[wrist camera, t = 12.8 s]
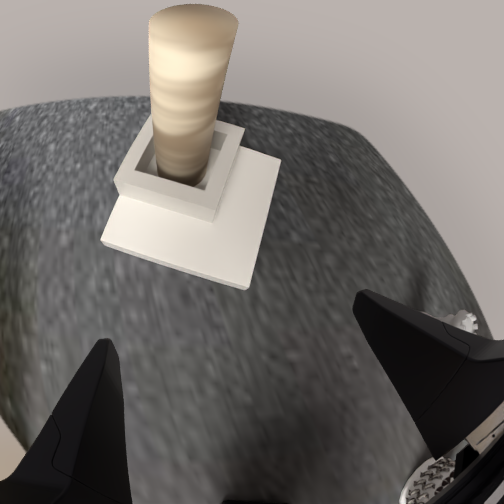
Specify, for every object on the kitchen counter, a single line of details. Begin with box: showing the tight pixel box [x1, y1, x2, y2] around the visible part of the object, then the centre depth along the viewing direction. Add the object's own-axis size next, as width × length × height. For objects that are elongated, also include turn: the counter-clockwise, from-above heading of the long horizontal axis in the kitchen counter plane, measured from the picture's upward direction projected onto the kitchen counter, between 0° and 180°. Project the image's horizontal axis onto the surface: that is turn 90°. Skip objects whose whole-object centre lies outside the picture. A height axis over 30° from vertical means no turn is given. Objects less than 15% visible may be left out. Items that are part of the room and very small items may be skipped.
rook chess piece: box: [422, 310, 478, 335], centre depth 21 cm, size 4×4×8 cm
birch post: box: [149, 4, 238, 187], centre depth 16 cm, size 4×4×14 cm
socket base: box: [101, 113, 281, 290], centre depth 22 cm, size 12×12×4 cm
